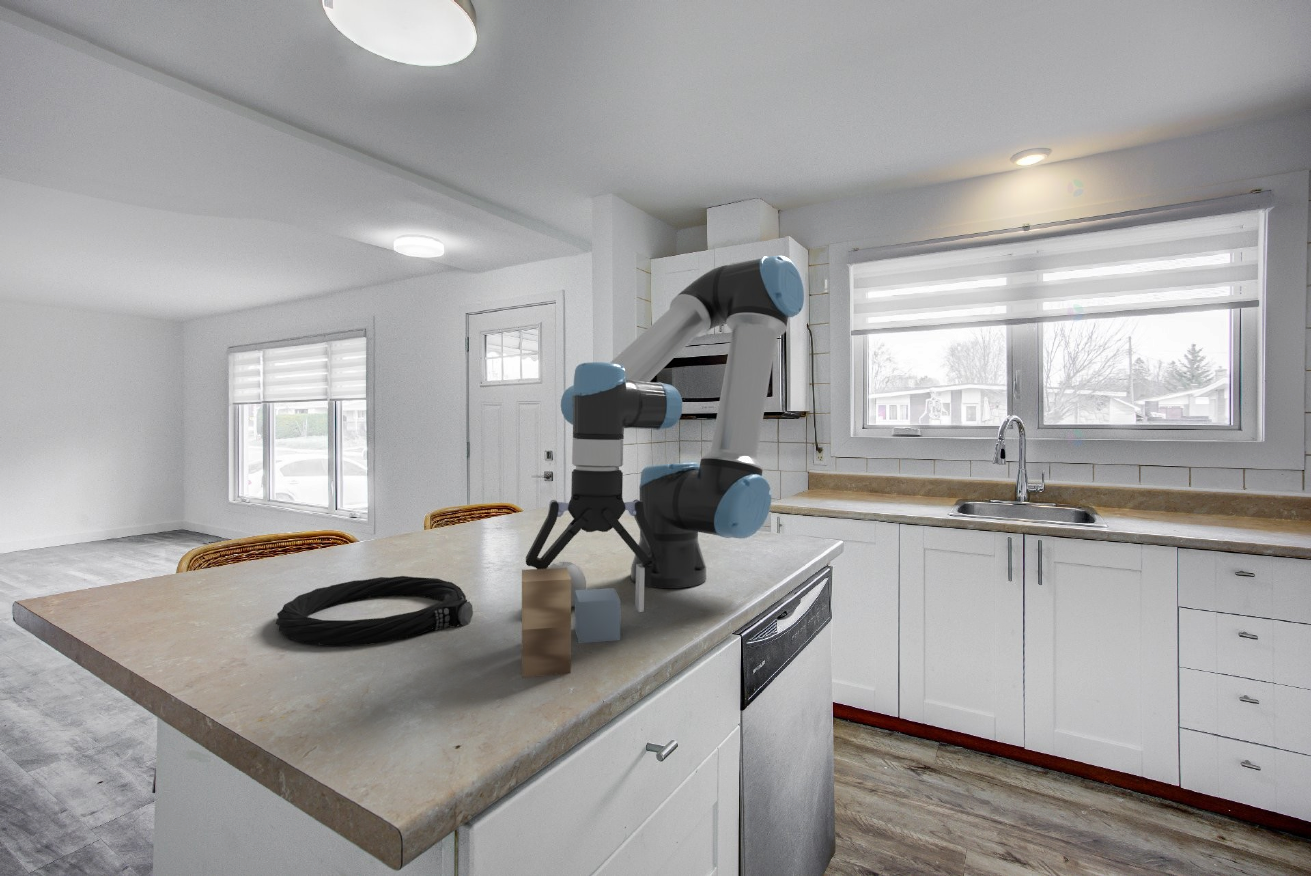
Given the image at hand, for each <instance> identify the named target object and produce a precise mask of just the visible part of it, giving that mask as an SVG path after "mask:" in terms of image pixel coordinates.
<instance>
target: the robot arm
mask: <svg viewBox="0 0 1311 876" xmlns="http://www.w3.org/2000/svg"><path fill="white" fill-rule="evenodd" d="M804 301H805V289H804V283H803V280H802V276H801V274H800V272H799V270H798V268H797V266H796V265H795V264H794V263H793V261H792V260H791V259H790V258H788V257H786V256H784V255H773V256H765V255H764V256H762V257H761V258H757V259H753V260H747V261H742V262H736V263H733V264H726V265H722V266H717V267H715V268H712V269H711V270H709V271H707V272H706V273H704V274H703V275H701V276H700V277H698V278H697V279H695V280H694V281H693V282H691V283H690V284H689V285H687V286H686V287H685V288H684V289H683V290H681V291H680V292H679V293H678V294H676V296H675V297H674V298H673V299H671V301H670V304H669V309H668V310H667V311H666V312H664V314H662V315H661V316H660V317H659V318H657V320H655V322H653V324H651V325H650V326H649V327H648V328H647V329H646V330H645V331H643V332H642V333H641V334H640V335H639V336H637V338H635V339H634V340H633V341H632V342H631V343H630V344H629V345H628V346H627V347H625V349H623V350H622V351H621V352H620V353H619V354H617V356H616V357H615V358H613V359H612V360H611V361H610V362H604V361H603V362H595V361H594V362H582V363H580V364H578V365H577V366H575V369H574V375H573V376H574V377H573V385H571V386H569V387H568V388H566V389H565V390H564V392H563V393H562V395H561V399H560V409H561V410H560V411H561V414H562V415H563V418H564V420H566V422H567V423H569V424H570V425H572V454H571V464H572V465H573V466H574V467H575V468H574V469H573V470H572V471H571V493H570V494H571V495H570V500H569V502H562V501H561V502H560V501H557V500H556V499H552V500H550V502H549V504H548V505H549V507H548V513H547V516H546V518H545V520H544V522H543V524H541V525H542V526H541V528H540V529H539V532H538V533H537V535H536V537H535V539H534V541H533V543H532V544H531V546H530V547H529V550H528V553H527V554H526V556H525V564H526V566H528V567H533V568H535V569H550V568H551V567H550V566H551V565H552V564H551V563H552V562H553V561H554V560H555V559H556V558H558V556H559V554H560V553H561V552H562V551H563V550H564V549H565V547H566V546H567V545H568V544H569V543H570V541H572V539H573V538H574V537H575V536H577V534H579V532H580V531H581V530H582V531H584V532H586V533H594V532H596V531H598V532H602V533H606V532H608V531H610V530H612V529H614V531H615V532H616V533H617V534H618V536H620V537H621V539H622V540H623V541H624V543H625V544H626V545H627V547H628V548H629V549H631V551H632V552H633V553H634V557H633V561H632V563H631V566H630V580H632V581H633V582H634V583H635V601H634V606H635V609H636V610H637V612H639V613H642V612H644V611H645V610H644V609H645V607H644V606H645V604H644V603H645V588H646V589H647V588H648V589H649V588H659V589H680V588H681V589H682V588H687V587H688V588H689V587H694V586H699V585H701V584H704V583H705V582H706V580H707V566H706V562H705V560H704V556H703V553H702V550H701V546H700V543H699V533H702V534H708V535H712V536H719V537H721V538H724V539H731V538H733V539H747V538H750V537H752V536H753V535H755V534H756V533H757V532H758V530H761V528H762V527H763V525H764V524H765V523H766V521H767V519H768V516H769V513H770V509H771V506H772V505H771V504H772V493H771V492H770V490H771V486H770V484H769V481H768V480H767V479H766V478H764V477H763V476H762V475H763V471H764V470H763V467H762V465H761V464H760V463H759V461H758V459H757V456H758V450H759V445H760V438H761V432H762V427H763V421H764V414H765V408H766V402H767V398H768V390H769V384H770V379H771V372H772V367H773V361H774V356H775V355H774V354H775V349H776V344H777V340H778V338H779V337H780V336H782V335H784V334H785V333H786V331H787V327H788V320H789V318H793V317H795V316H797V315H799V314H800V312H801V311H802V309H803V307H804ZM723 325H726V326H727V327H728V328H729V330H730V331H731V335H730V336H731V337H730V343H729V348H728V352H727V353H728V354H727V359H726V364H725V370H724V374H723V380H722V386H721V392H720V397H719V403H718V408H717V413H716V420H715V425H714V430H713V434H712V435H713V436H712V440H711V446H710V450H709V452H707V453H706V454H705V455H703V456H702V457H701V458H700V462H699V463H698V462H696V461H694V462H679V463H669V464H659V465H658V464H657V465H649V466H646V467H644V468H643V469H642V470H641V472H640V483H639V486H638V487H639V488H638V489H639V499H634V500H632V501H628V502H625V501H624V499H623V488H624V486H623V482H624V481H623V479H624V475H623V473H624V472H623V471H622V470H621V469H620V467H622V466H623V465H624V439H625V435H624V434H625V429H636V430H637V429H638V430H639V429H640V430H642V429H643V430H654V431H655V430H656V431H659V430H662V429H663V430H664V429H666V430H667V429H670V428H672V427H674V426H675V425H676V424H677V423H678V422H679V420H680V419H681V416H682V413H683V399H682V395H681V393H680V392H679V391H678V389H677V388H676V387H675V386H673V385H672V384H667V383H662V381H661V382H660V381H656V382H654V381H652V380H653V379H654V378H655V376H657V375H658V374H659V373H660V372H661V371H662V370H663V369H664V368H665V367H666V366H667V365H668V364H669V363H670V362H671V361H672V360H673V359H674V358H675V357H676V356H677V355H678V354H679V353H680V352H681V351H682V350H684V348H686V347H687V345H689V343H690V342H691V341H693V340H694V339H695V338H700V337H703V336H705V335H706V334H707V333H708V332H709V331H710V330H711V329H714V328H716V327H719V326H723ZM566 511H568V513H569V514H570V515H571V517H572V520H571V522H569V524H568V525H567V527H566V528H565V529H564V530H563V531H562V533H560V535H559V536H558V537H557V539H555V541H554V542H553V543H552V544H551V546H550V547H549V548H548V549H547V550H546V551H545V552H544V554H543V555H542V556H540V557H539V555H540V553H541V552H542V549H543V547H544V545H545V543H546V542H547V539H548V537H549V536H550V534H551V532H552V530H553V528H554V526H555V524H556V522H557V521H558V518H561V517H562V516H563V515H564V513H565V512H566ZM625 511H628V513H629V515H630V516H631V517H634V519H635V522H636V524H637V526H638V528H639V542H637V541H636V540H635V539H634V538H633V537H632V536H631V534H630V533H629V531H628V530H626V528H625V527H624V526H623V524H622V523H621V522H620V519H621V517H622V516H623V514H624V513H625Z"/></svg>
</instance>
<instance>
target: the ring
mask: <svg viewBox="0 0 1311 876" xmlns="http://www.w3.org/2000/svg"><path fill="white" fill-rule="evenodd" d="M398 596H399V597H423V598H427V599H430V600H436V601H437V600H439V601H440V602H437V603H434V604H432V605H430V606H428V607H425V608H421V609H419V610H416V611H411V612H406V613H399V614H396V615H395V614H394V615H390V616H386V617H385V616H384V617H376V618H363V619H352V620H348V619H347V620H346V619H345V620H341V619H339V620H337V619H335V620H334V619H333V620H332V619H331V620H330V619H329V620H328V619H320V618H319V619H318V618H314V617H309V616H310V615H313V614H315V613H317V612H319V611H320V610H324V609H327V608H331V607H335V606H337V605H340V604H344V603H350V602H355V601H362V600H366V599H373V598H387V597H398ZM473 614H474V609H473V604H472V603H471V601H468V599H467V596H466V594H465V593H464V591H463V590H462V589H461V587H460V586H458V585H457V584H455V583H453V582H452V581H447V580H443V579H441V578H434V577H421V576H420V577H418V576H416V577H415V576H407V575H401V576H399V575H398V576H392V577H390V576H389V577H383V576H381V577H374V578H369V579H361V580H357V579H356V580H351V581H347V582H340V583H337V584H336V583H335V584H332V585H329V586H326V587H319V588H315V589H313V590H311V591H309V592H306V593H302V594H299V595H297V596H296V597H295V598H293V599H292V600H291V601H289V602H287V603H284V605H283V607H282V609H280V611H279V612H278V613H277V614H276V615H277V619H276V621H275V623H274V624H275V625H277V626H278V628H277V630H278V631H279V632H280V633H281V634H282V635H284V636H285V637H286V638H287V639H288V640H293V641H297V642H301V644H305V645H308V646H318V645H319V646H326V647H344V646H345V647H346V646H347V647H348V646H354V645H355V646H356V645H357V646H362V645H374V644H381V643H387V642H390V641H396V640H397V641H398V640H403V639H408V638H411V637H415V636H420V635H421V634H423V633H427V632H430V631H432V630H433V631H438V630H439V631H441V630H442V629H446V628H448V626H449V627H453V628H457V627H459V626H463V627H464V626H466V625H467V626H468V625H469V624H470V622H471V620H472V619H473Z"/></svg>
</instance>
